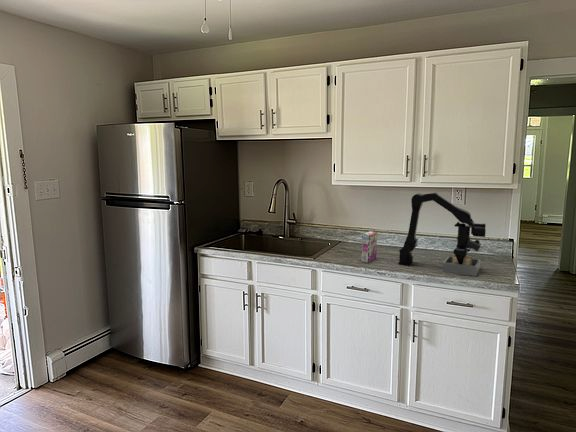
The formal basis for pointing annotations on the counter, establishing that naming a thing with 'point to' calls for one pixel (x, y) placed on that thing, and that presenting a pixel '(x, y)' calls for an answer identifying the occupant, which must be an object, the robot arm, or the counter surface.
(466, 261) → the birch crate
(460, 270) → the charcoal crate
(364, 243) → the candy bar box
